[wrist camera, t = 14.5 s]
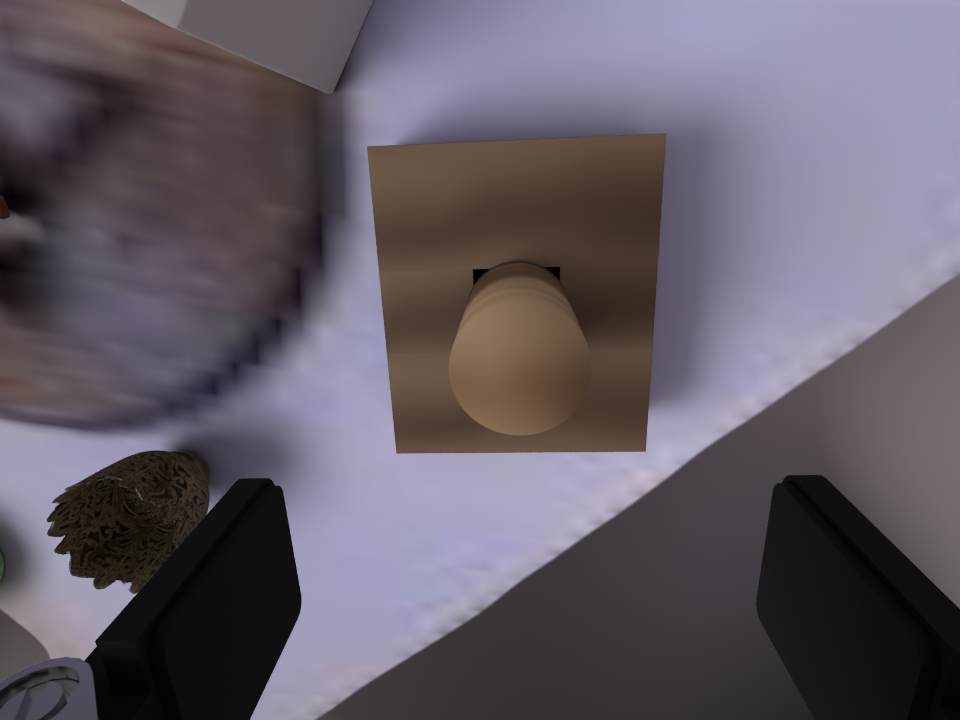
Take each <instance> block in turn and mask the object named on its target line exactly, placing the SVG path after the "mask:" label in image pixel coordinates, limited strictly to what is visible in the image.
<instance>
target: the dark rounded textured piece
mask: <svg viewBox="0 0 960 720" xmlns="http://www.w3.org/2000/svg"><path fill="white" fill-rule="evenodd" d="M209 479H210V472H209V468H208V466H207V464H206V463H205V461H204V460H203V459H202V458H201V457H200V456H198V455H197V454H195V453H193V452H190V451H186V450H176V451H171V452H167V451H146V452H141V453H138V454H135V455H131V456H129V457H126V458H124V459H122V460H120V461H118V462H116V463H114V464H112V465H110V466H108V467H106V468H104V469H102V470H100V471H98V472H97V473H95V474H93V475H91V476H89V477H88V478H86V479H84V480H82V481H81V482H79V483H77V484H75V485H73V486H70V487H68V488H66V489H65V490H66V492H65V493H63V494H62V495H60V496H59V497H57V498H56V499H55V500H53V502H52V503H57V504H58V503H60V504H59V505H57V506H56V507H55V510H54V511H53V512H52V513H51V514H50V516H49V517H48V519H47V522H53V523H52V524H51V526H50V529H49V530H48V532H47V535H48V536H53V537H62V536H64V535H65V537H64V538H63V540H62V541H61V542H60V544H59V545H58V546H57V547H56V548H55V550H54V552H55V553H57V554H68V553H67V552H68V551H69V552H70V553H69V554H70V556H71V559H70V562H69V569H70V573H71V575H73V576H76V577H82V578H95V579H94V582H93V585H94V587H95V588H96V589H104V588H106V587H107V586H109V585H111V584H112V583H113V582H115V580H121V581H122V583H123V584H126V583H128V582H131V583H132V585H131V587H130V589H129V591H130V592H131V593H133V594H135V593H137V592H139V591H140V590H141V589H142V588H143V587H144V585H145V584H146V583H147V582H148V581H149V580H150V579H151V577H152V576H153V575H154V574H155V573H156V572H157V571H158V570H159V568H160V567H161V566H162V565H163V564H164V563H165V562H166V561H167V559H168V558H169V557H170V556H171V555H172V554H173V553H174V551H175V550H176V549H177V548H178V547H179V546H180V545H181V544H182V542H183V541H184V540H185V539H186V538H187V537H188V536H189V534H190V533H191V532H192V531H193V530H194V529H195V528H196V527H197V525H198V524H199V523H200V522H201V521H202V520H203V519H204V517H205V516H206V514H207V511H208V507H209V499H210V497H209V489H208V484H209Z"/></svg>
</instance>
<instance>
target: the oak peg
mask: <svg viewBox="0 0 960 720" xmlns="http://www.w3.org/2000/svg"><path fill="white" fill-rule="evenodd" d="M591 376H592V359H591V354H590V350H589V347H588V344H587V342H586V339H585V337H584V335H583V333H582V330H581V328H580V326H579V323H578V321H577V319H576V317H575V314H574V312H573V310H572V307H571V305H570V303H569V299H568V297H567V294H566V291H565V289H564V287H563V285H562V284H561V283H560V281H559V280H558V279H557V278H556V276H555V275H553V274H552V273H551V272H550V271H549V270H547V269H545V268H544V267H542V266H540V265H537V264H534V263H531V262H526V261H511V262H506V263H502V264H499V265H497V266H495V267H493V268H491V269H489V270H488V271H487V272H485V273H484V274H483V275H482V276H481V277H480V278H479V279H478V280H477V282H476V283H475V284H474V286H473V288H472V290H471V292H470V294H469V297H468V300H467V305H466V309H465V312H464V315H463V317H462V320H461V323H460V326H459V329H458V332H457V335H456V338H455V341H454V344H453V347H452V350H451V353H450V359H449V378H450V383H451V387H452V390H453V392H454V395H455V397H456V399H457V401H458V402H459V404H460V405H461V407H462V408H463V409H464V410H465V412H466V413H467V414H468V415H469V416H470V417H471V418H473V419H474V420H475V421H477V422H478V423H479V424H481V425H483V426H484V427H486V428H488V429H491V430H493V431H496V432H499V433H503V434H508V435H519V436H522V435H532V434H538V433H541V432H544V431H547V430H550V429H552V428H554V427H556V426H558V425H559V424H561V423H563V422H564V421H565V420H566V419H568V418H569V417H570V416H571V415H572V414H573V413H574V412H575V411H576V410H577V409H578V407H579V406H580V405H581V403H582V402H583V400H584V398H585V396H586V394H587V391H588V389H589V386H590V382H591Z"/></svg>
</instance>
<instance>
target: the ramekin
mask: <svg viewBox="0 0 960 720" xmlns="http://www.w3.org/2000/svg"><path fill="white" fill-rule="evenodd" d="M3 573H4V560H3V556H2V553H1V550H0V581H1V579H2V576H3Z"/></svg>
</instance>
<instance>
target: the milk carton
mask: <svg viewBox="0 0 960 720" xmlns="http://www.w3.org/2000/svg"><path fill="white" fill-rule="evenodd" d="M121 1H123V2H125V3H127V4H129V5H131V6H133V7H135V8H136V9H138V10H140V11H142V12H144V13H146V14H148V15H149V16H151V17H153V18H155V19H157V20H159V21H161V22H163V23H164V24H166V25H168V26H170V27H172V28H174V29H177V30H179V31H182V32H184V33H186V34H189V35H191V36H194V37H196V38H198V39H201V40H203V41H205V42H208V43H210V44H212V45H215V46H217V47H219V48H222V49H224V50H226V51H229V52H231V53H234V54H236V55H238V56H241V57H243V58H245V59H248V60H250V61H252V62H255V63H257V64H259V65H262V66H264V67H267V68H269V69H271V70H274V71H276V72H278V73H281V74H283V75H285V76H288V77H290V78H292V79H295V80H297V81H299V82H302V83H304V84H307V85H309V86H311V87H314V88H316V89H318V90H321V91H323V92H325V93H328V94H332V93H333V91H334V89H335V87H336V85H337V83H338V80H339V78H340V76H341V73H342V71H343V69H344V66H345V64H346V62H347V60H348V57H349V55H350V53H351V50H352V48H353V46H354V43H355V41H356V39H357V36H358V34H359V32H360V29H361V27H362V25H363V23H364V20H365V18H366V16H367V13H368V11H369V9H370V6H371V4H372V2H373V0H121Z"/></svg>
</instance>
